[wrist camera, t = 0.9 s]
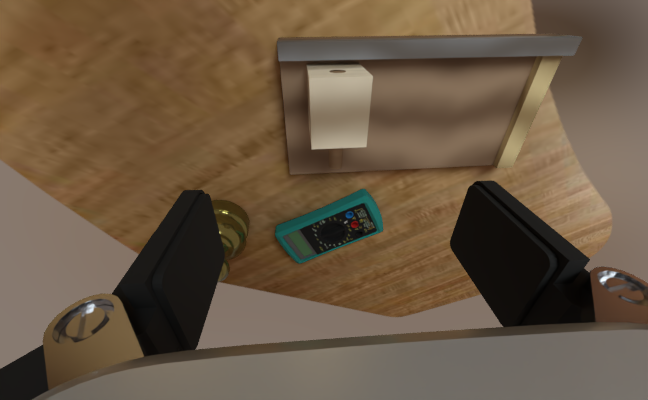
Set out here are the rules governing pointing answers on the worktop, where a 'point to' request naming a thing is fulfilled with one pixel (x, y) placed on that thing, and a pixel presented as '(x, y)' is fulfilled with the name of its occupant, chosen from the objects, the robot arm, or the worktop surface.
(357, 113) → the block with top hole
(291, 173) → the board
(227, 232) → the brass pawn finial
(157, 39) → the worktop surface
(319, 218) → the digital multimeter
